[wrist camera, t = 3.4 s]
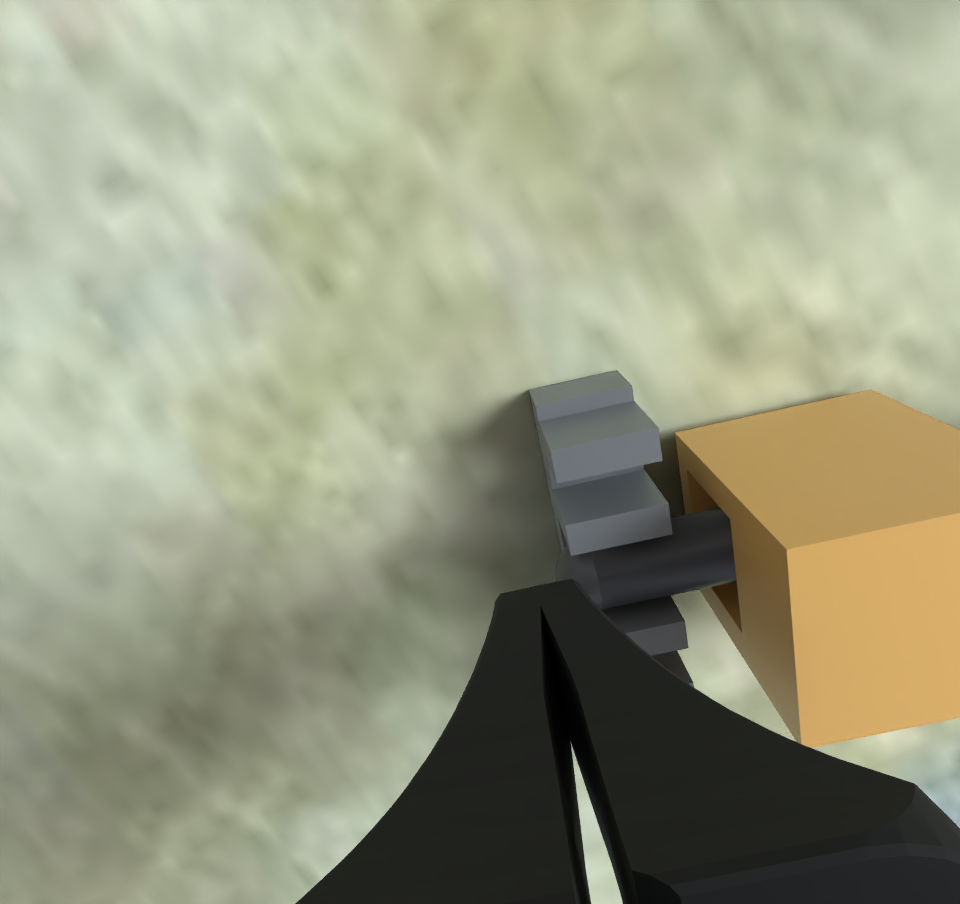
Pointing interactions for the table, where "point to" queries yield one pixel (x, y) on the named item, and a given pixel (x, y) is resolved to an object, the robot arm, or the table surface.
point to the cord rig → (624, 514)
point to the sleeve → (838, 559)
